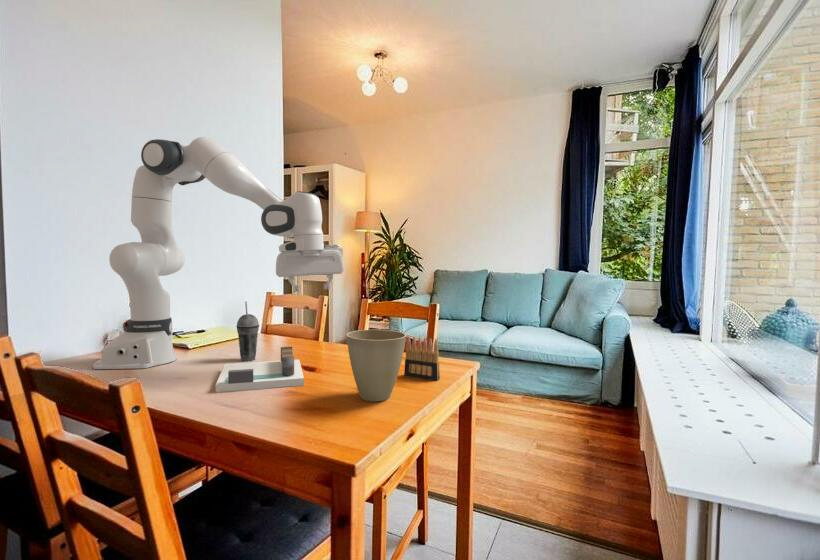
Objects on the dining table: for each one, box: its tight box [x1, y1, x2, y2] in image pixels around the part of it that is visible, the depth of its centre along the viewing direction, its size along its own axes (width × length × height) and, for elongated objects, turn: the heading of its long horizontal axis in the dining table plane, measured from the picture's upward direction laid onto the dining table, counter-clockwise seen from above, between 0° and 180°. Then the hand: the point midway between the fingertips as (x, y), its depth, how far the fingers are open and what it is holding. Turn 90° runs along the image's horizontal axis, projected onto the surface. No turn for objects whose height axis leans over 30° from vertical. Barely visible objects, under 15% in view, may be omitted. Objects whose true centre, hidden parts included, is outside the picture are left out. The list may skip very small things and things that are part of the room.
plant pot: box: [346, 329, 407, 403], centre depth 105 cm, size 15×15×16 cm
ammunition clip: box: [403, 335, 441, 382], centre depth 123 cm, size 11×2×12 cm, turn 64°
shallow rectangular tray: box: [215, 359, 305, 393], centre depth 121 cm, size 22×22×5 cm
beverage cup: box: [236, 301, 260, 362], centre depth 141 cm, size 7×7×20 cm
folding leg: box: [280, 346, 295, 376], centre depth 123 cm, size 18×3×5 cm, turn 18°
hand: (311, 290), depth 128 cm, fingers open, 8 cm apart
